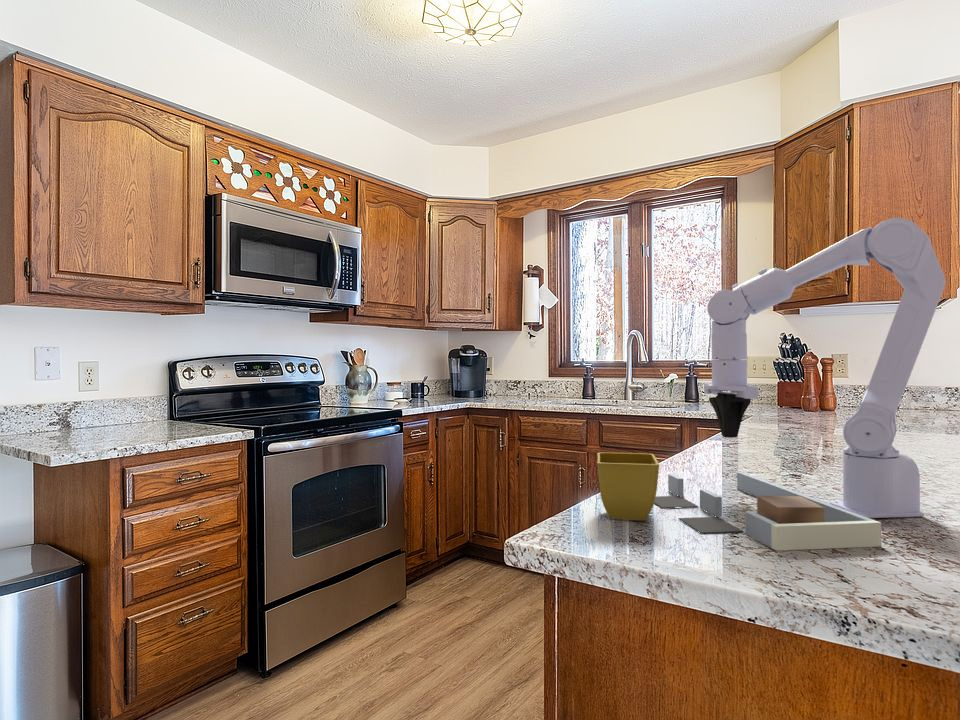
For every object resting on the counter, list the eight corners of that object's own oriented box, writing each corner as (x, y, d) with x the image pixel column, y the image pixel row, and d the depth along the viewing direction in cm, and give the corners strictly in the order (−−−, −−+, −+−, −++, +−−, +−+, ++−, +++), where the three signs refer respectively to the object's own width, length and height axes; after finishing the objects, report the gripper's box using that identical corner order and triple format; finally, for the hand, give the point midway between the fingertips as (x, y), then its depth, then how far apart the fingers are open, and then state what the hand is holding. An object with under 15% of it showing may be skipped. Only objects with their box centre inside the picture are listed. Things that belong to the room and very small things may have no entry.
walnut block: (800, 528, 80) (800, 496, 80) (824, 541, 74) (824, 507, 74) (757, 527, 81) (757, 496, 81) (777, 541, 75) (777, 507, 75)
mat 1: (679, 496, 98) (679, 495, 98) (698, 507, 91) (698, 506, 91) (645, 497, 97) (645, 496, 97) (662, 508, 90) (662, 507, 90)
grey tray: (742, 488, 104) (742, 472, 104) (875, 543, 73) (875, 520, 73) (668, 490, 102) (668, 474, 102) (771, 548, 72) (771, 524, 72)
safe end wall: (875, 543, 73) (875, 520, 73) (881, 546, 72) (881, 522, 72) (771, 548, 72) (771, 524, 72) (776, 550, 71) (776, 526, 71)
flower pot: (660, 526, 81) (659, 463, 81) (597, 523, 83) (597, 462, 83) (654, 510, 90) (653, 453, 90) (597, 507, 92) (597, 452, 92)
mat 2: (717, 518, 85) (717, 516, 85) (743, 532, 78) (743, 530, 78) (678, 519, 84) (678, 518, 84) (701, 533, 78) (701, 532, 78)
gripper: (688, 360, 107) (689, 432, 107) (729, 360, 93) (729, 443, 93) (724, 359, 108) (724, 431, 108) (770, 360, 93) (770, 442, 93)
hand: (729, 437), depth 100 cm, fingers closed
